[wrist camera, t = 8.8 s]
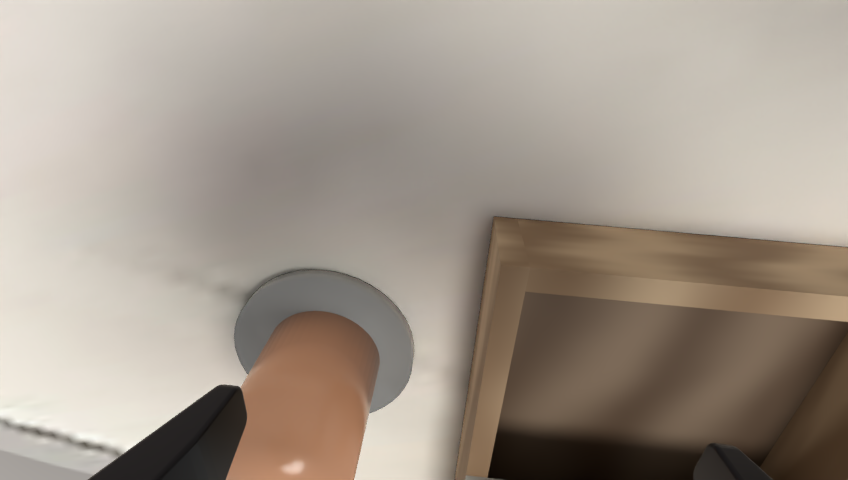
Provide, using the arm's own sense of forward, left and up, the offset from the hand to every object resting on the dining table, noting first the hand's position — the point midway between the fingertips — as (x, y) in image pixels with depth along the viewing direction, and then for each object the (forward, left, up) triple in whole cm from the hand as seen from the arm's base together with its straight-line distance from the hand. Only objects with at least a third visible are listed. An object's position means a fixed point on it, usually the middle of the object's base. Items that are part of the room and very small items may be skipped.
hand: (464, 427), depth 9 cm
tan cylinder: (+6, +9, -11) cm, 15 cm away
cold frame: (-10, +12, -11) cm, 19 cm away
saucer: (+6, +9, -11) cm, 15 cm away
